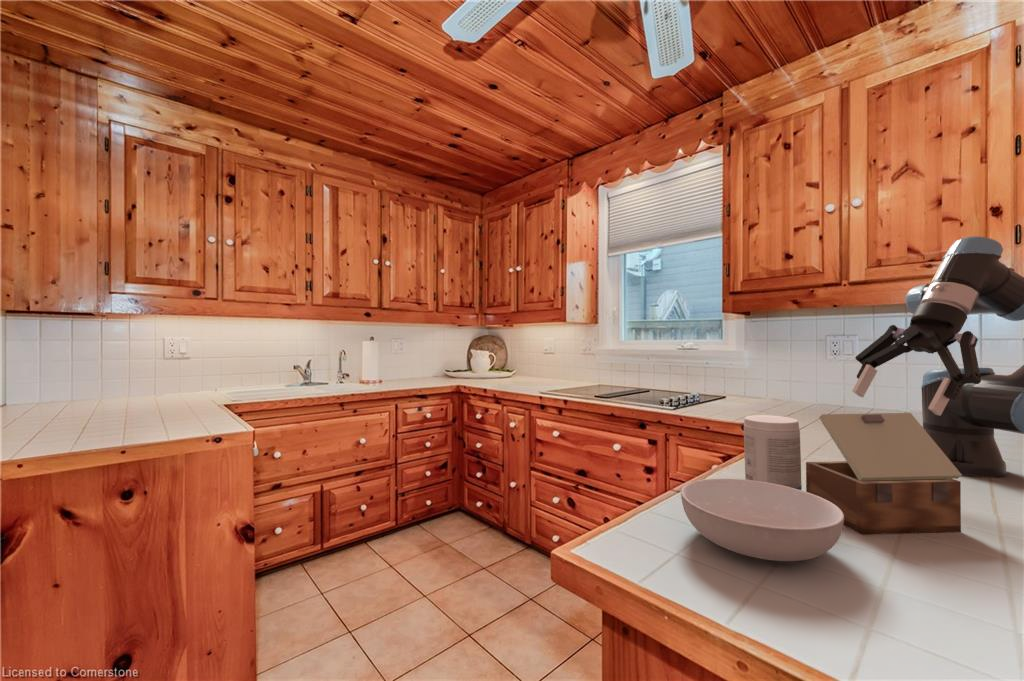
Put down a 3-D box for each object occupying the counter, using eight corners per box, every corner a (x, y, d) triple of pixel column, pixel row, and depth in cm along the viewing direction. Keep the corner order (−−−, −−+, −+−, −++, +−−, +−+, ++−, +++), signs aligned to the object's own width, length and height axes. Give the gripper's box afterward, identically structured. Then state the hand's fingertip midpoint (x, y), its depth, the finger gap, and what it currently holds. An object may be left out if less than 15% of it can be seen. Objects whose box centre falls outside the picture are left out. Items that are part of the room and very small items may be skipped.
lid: (906, 416, 77) (913, 410, 75) (957, 478, 68) (966, 472, 67) (818, 417, 76) (824, 411, 75) (859, 480, 68) (866, 475, 66)
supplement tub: (807, 493, 86) (806, 418, 86) (794, 506, 79) (793, 425, 79) (753, 481, 93) (752, 412, 93) (737, 492, 86) (736, 418, 86)
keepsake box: (890, 503, 80) (890, 460, 80) (962, 532, 68) (962, 481, 68) (806, 505, 79) (806, 462, 79) (863, 535, 67) (862, 484, 67)
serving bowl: (874, 557, 61) (873, 507, 61) (790, 603, 50) (790, 543, 50) (734, 507, 79) (733, 469, 79) (651, 533, 68) (651, 490, 68)
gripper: (866, 298, 98) (821, 380, 97) (1020, 302, 74) (962, 411, 73) (885, 315, 100) (841, 395, 99) (1041, 324, 76) (984, 430, 75)
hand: (892, 402), depth 86 cm, fingers open, 13 cm apart
